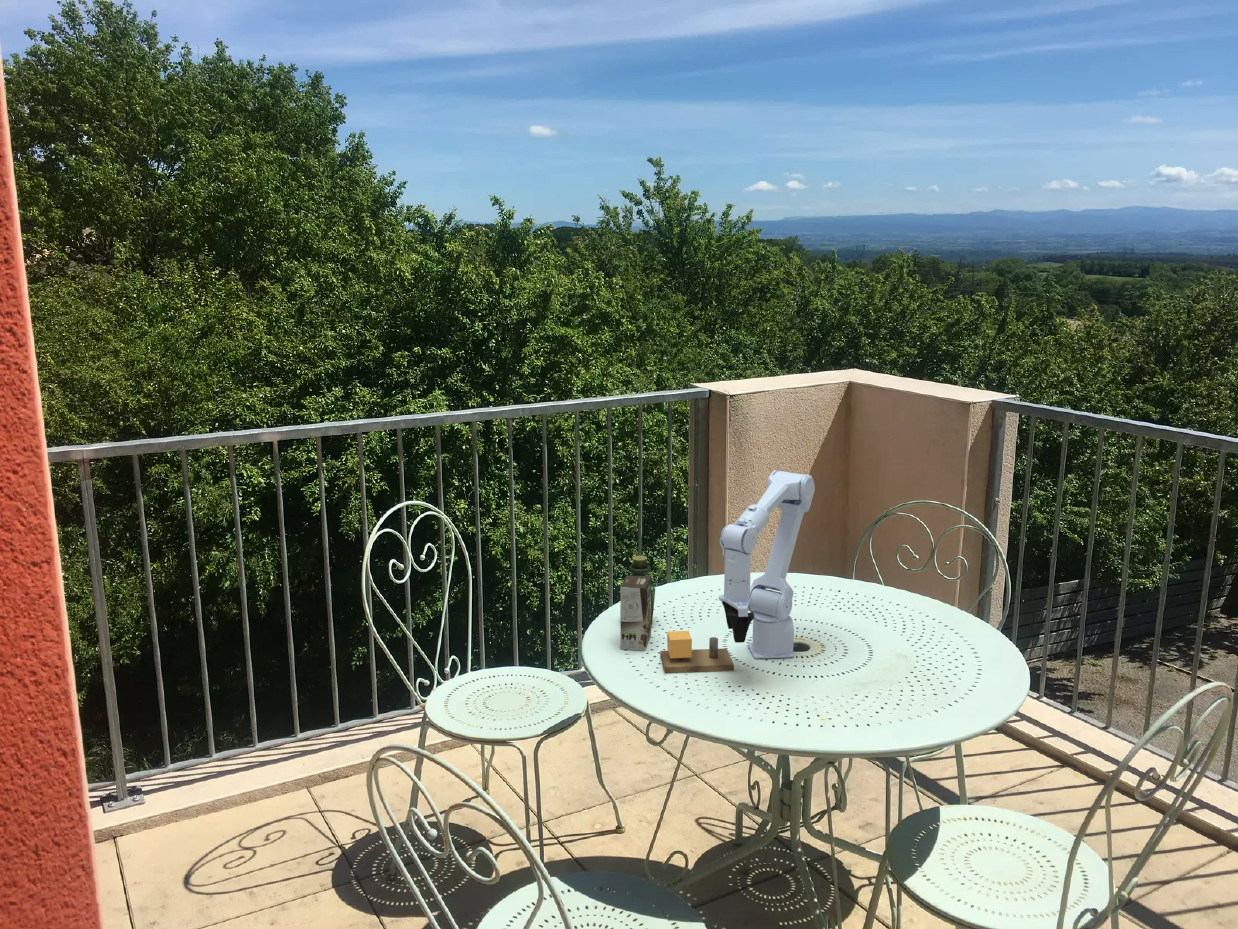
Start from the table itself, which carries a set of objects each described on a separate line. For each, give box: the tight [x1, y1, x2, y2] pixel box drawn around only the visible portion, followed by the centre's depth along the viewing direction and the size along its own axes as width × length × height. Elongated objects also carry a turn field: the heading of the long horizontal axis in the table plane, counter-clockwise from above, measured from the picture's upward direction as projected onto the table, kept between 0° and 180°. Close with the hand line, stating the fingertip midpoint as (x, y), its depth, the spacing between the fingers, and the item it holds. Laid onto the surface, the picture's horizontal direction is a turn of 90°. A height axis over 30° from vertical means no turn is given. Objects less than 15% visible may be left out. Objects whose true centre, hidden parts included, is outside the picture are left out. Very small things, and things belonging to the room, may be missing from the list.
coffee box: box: [619, 574, 652, 652], centre depth 217 cm, size 9×6×16 cm
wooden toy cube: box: [666, 630, 693, 658], centre depth 205 cm, size 5×5×4 cm
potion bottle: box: [628, 555, 656, 626], centre depth 228 cm, size 8×8×18 cm
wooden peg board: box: [659, 636, 735, 674], centre depth 206 cm, size 16×9×6 cm, turn 94°
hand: (736, 635), depth 199 cm, fingers open, 7 cm apart
